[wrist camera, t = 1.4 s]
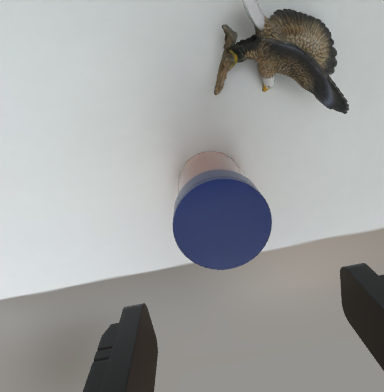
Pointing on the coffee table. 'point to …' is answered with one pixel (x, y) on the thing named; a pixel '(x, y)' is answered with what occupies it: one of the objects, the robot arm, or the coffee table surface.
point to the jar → (205, 166)
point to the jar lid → (221, 220)
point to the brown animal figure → (286, 53)
